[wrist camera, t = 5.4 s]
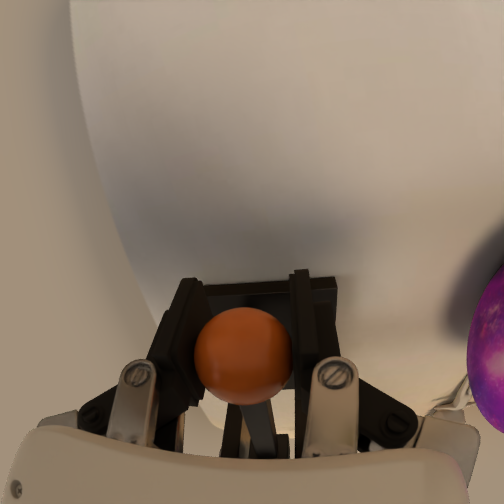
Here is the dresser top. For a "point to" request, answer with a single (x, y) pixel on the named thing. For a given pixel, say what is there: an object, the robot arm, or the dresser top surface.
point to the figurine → (456, 405)
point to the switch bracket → (278, 305)
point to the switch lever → (248, 371)
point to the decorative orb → (488, 352)
